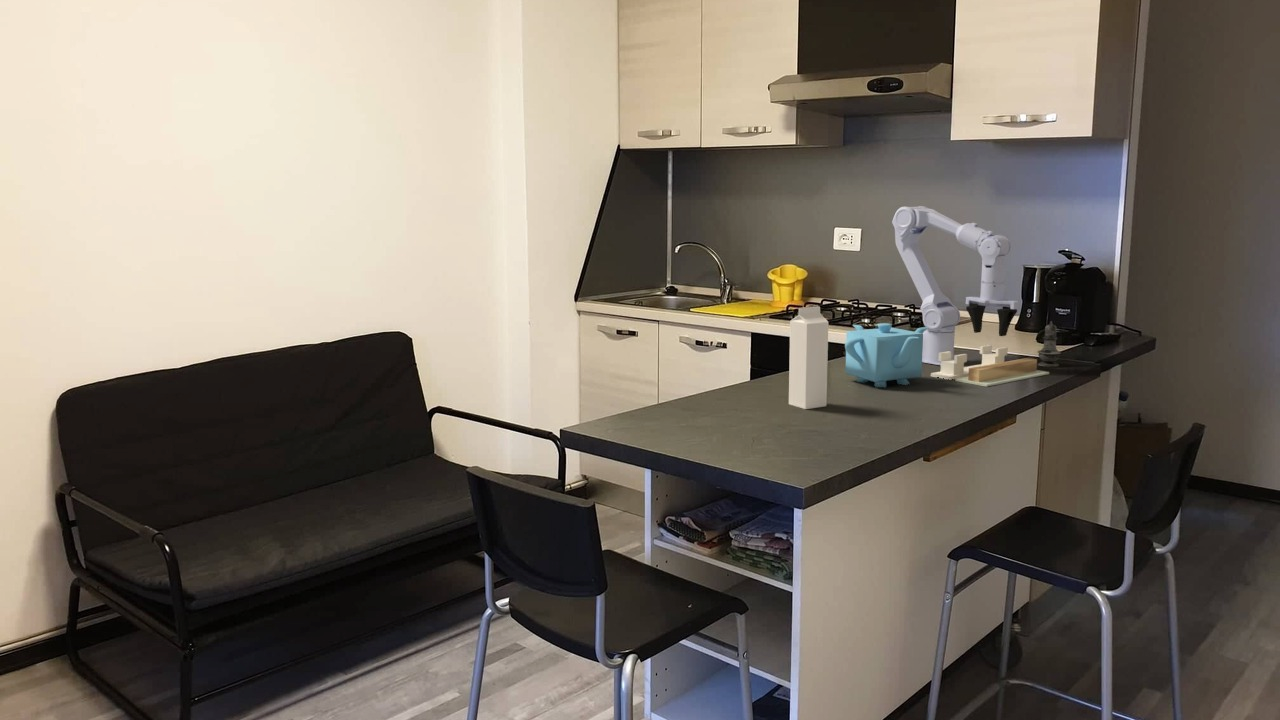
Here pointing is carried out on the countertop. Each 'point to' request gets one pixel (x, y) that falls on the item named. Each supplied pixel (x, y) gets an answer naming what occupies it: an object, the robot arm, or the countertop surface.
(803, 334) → the milk
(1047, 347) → the grey chess piece
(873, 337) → the teakettle
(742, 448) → the countertop surface
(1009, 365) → the oak bar
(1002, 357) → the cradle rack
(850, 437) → the countertop surface
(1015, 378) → the sage mat
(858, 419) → the countertop surface
